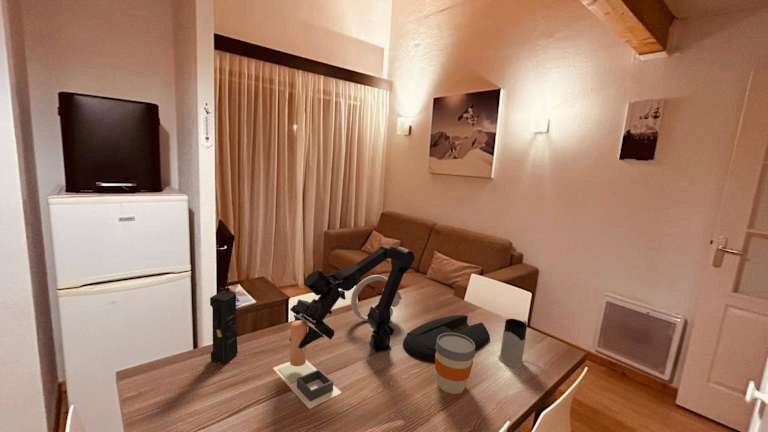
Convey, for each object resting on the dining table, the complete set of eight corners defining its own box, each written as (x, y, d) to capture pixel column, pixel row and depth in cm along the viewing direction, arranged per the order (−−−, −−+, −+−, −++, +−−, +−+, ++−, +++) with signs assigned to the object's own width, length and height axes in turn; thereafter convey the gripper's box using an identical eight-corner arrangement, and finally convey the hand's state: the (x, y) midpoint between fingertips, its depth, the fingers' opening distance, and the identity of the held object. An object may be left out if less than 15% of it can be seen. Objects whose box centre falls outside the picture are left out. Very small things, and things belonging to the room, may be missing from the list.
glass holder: (494, 359, 128) (499, 322, 125) (510, 346, 138) (516, 312, 135) (516, 370, 122) (523, 331, 119) (532, 356, 132) (538, 320, 129)
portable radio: (224, 366, 111) (224, 294, 107) (208, 363, 112) (207, 291, 108) (239, 353, 119) (239, 285, 115) (223, 350, 120) (223, 283, 116)
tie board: (341, 395, 102) (342, 383, 101) (309, 412, 95) (309, 399, 94) (302, 359, 119) (303, 348, 118) (272, 370, 111) (272, 359, 110)
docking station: (388, 341, 135) (389, 329, 135) (451, 316, 162) (453, 306, 161) (435, 373, 117) (437, 360, 116) (498, 339, 143) (500, 328, 143)
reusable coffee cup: (443, 367, 120) (448, 328, 118) (476, 384, 112) (482, 342, 110) (424, 384, 110) (428, 341, 108) (459, 403, 103) (465, 358, 100)
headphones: (386, 333, 149) (344, 314, 141) (380, 323, 157) (340, 305, 149) (410, 292, 149) (370, 271, 141) (403, 285, 157) (364, 264, 149)
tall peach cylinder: (305, 356, 113) (306, 319, 111) (306, 365, 108) (307, 327, 106) (289, 357, 111) (290, 321, 109) (290, 367, 107) (291, 328, 104)
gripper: (296, 281, 115) (264, 321, 109) (328, 300, 102) (294, 346, 96) (315, 298, 122) (286, 336, 116) (347, 317, 109) (316, 361, 103)
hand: (294, 344), depth 108 cm, fingers closed on tall peach cylinder, 5 cm apart
